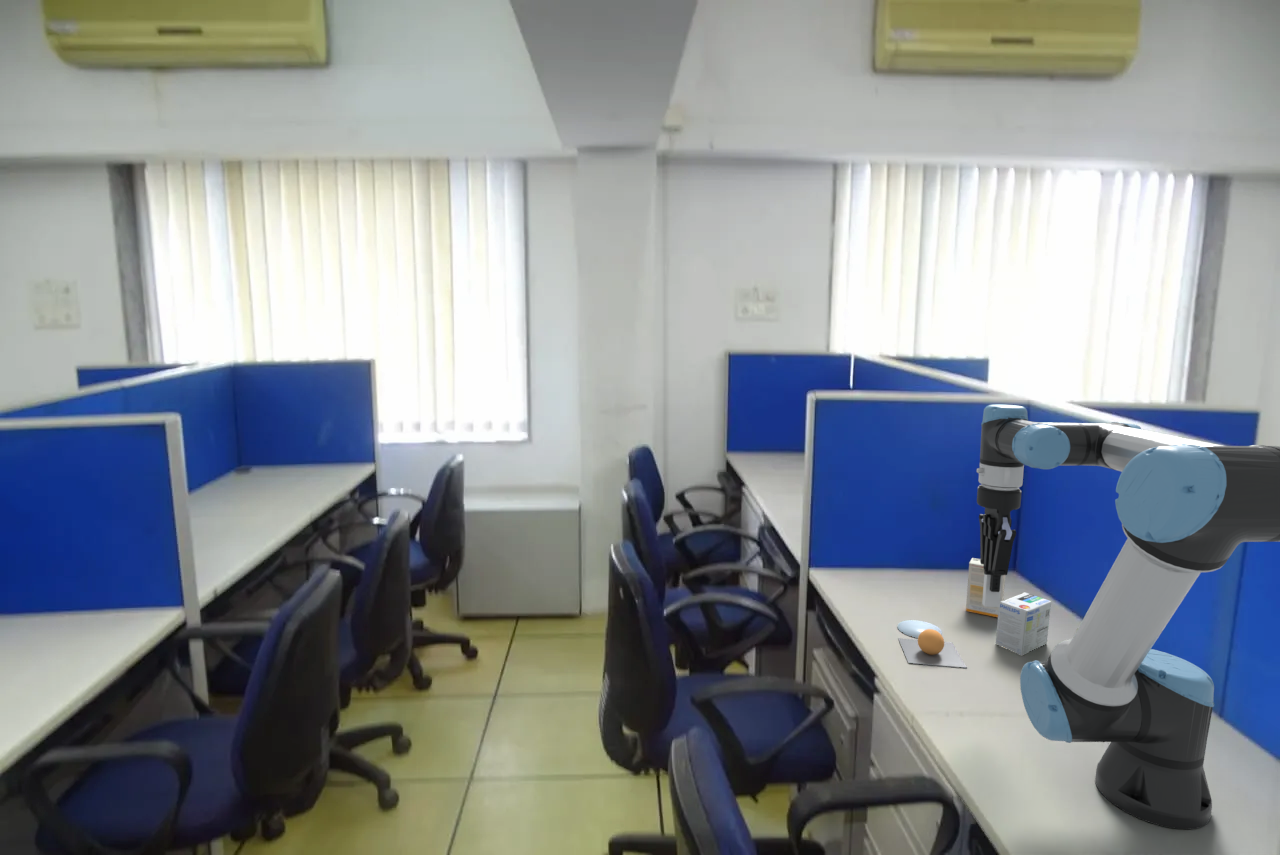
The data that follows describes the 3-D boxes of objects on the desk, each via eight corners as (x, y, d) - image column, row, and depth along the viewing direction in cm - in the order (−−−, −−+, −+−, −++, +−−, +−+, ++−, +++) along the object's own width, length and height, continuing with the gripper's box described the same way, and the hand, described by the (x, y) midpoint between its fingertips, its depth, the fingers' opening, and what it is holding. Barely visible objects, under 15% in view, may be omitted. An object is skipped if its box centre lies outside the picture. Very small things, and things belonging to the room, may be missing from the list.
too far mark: (946, 640, 170) (946, 640, 170) (901, 637, 172) (901, 636, 172) (936, 622, 180) (936, 621, 180) (894, 619, 181) (894, 618, 181)
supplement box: (1002, 612, 186) (1007, 563, 184) (1000, 618, 182) (1005, 568, 180) (967, 604, 191) (972, 556, 189) (964, 611, 187) (969, 562, 185)
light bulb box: (1019, 633, 174) (1024, 590, 172) (1048, 644, 169) (1053, 600, 167) (993, 645, 168) (998, 600, 167) (1022, 656, 163) (1027, 611, 161)
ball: (944, 661, 162) (948, 642, 159) (918, 659, 163) (922, 640, 160) (939, 643, 167) (943, 624, 164) (914, 640, 168) (917, 622, 165)
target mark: (966, 668, 157) (966, 667, 157) (908, 663, 159) (908, 662, 159) (952, 643, 169) (952, 642, 169) (898, 639, 171) (898, 638, 171)
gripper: (967, 478, 146) (960, 592, 149) (990, 492, 133) (981, 617, 136) (1007, 480, 145) (998, 594, 148) (1034, 494, 132) (1024, 619, 135)
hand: (990, 605), depth 142 cm, fingers closed
